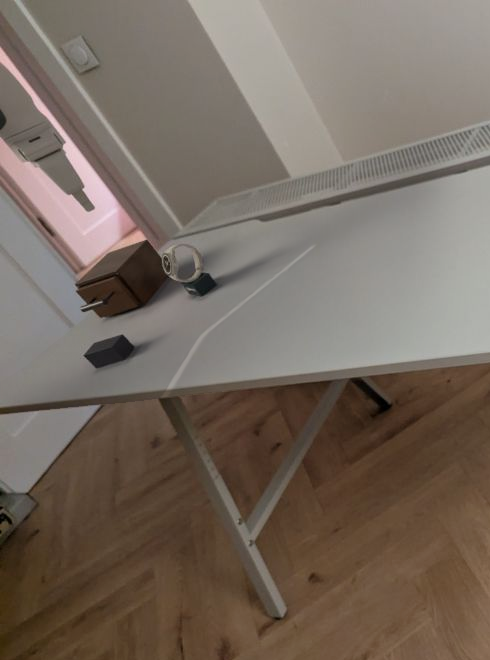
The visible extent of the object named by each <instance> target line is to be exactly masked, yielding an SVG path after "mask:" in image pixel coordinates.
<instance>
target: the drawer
mask: <svg viewBox="0 0 490 660" xmlns="http://www.w3.org/2000/svg"><path fill="white" fill-rule="evenodd" d="M75 292H76V294H77V295H78V296H79V297H80V298H81V299H82V300H83V301H84V302H85V304H84V305H81V306H80V307H79V309H80V311H81V313H87V312H90V311H93V312H94V313H95V314H96V316H98V317H99V318H100V319H102V318H107V317H106V316H108V317H110V316H109V315H112V314H115V313H118V312H121V313H123V312H122V311H124V312H126V311H125V310H127V311H129V310H128V309H131V308H134V307H137V306H138V305H139V304H140V303H139V302H138V299H137V298H136V297H135V295H134V294H133V293H132V292H131V291H130V290H129V288H128V287H127V286H126V285H125V284H124V283H123V281H122V280H121V279H120V278H119V277H118V275H117V274H115V275H112V276H109V277H106V278H103V279H100V280H97V281H94V282H91V283H88V284H85V286H84V287H81V288H77V289H75ZM137 308H138V307H137ZM134 309H135V308H134ZM131 310H132V309H131ZM118 314H119V313H118ZM115 315H116V314H115ZM112 316H113V315H112Z"/></svg>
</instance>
